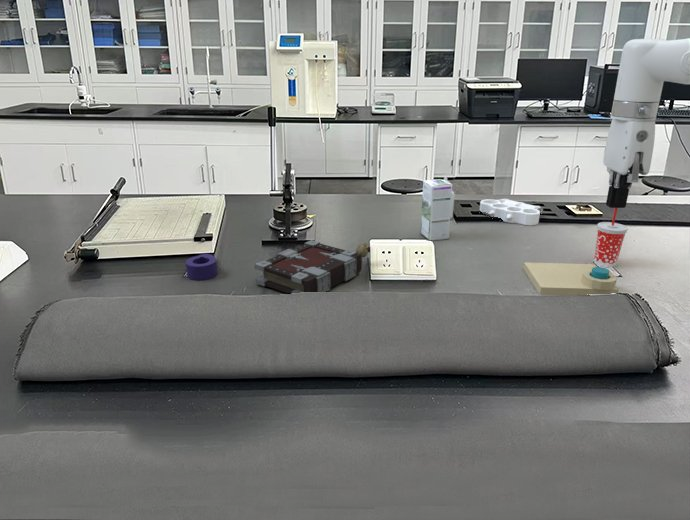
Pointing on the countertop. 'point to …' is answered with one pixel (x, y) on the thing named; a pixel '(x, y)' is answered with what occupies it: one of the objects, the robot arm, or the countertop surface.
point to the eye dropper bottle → (451, 200)
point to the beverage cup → (609, 242)
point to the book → (310, 267)
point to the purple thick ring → (201, 267)
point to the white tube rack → (512, 211)
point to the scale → (568, 279)
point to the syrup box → (436, 209)
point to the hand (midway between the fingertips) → (615, 206)
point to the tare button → (600, 273)
